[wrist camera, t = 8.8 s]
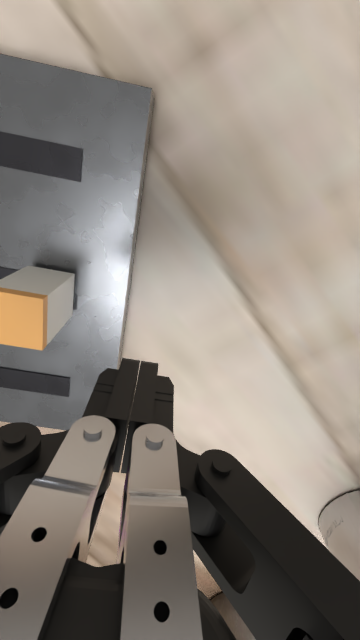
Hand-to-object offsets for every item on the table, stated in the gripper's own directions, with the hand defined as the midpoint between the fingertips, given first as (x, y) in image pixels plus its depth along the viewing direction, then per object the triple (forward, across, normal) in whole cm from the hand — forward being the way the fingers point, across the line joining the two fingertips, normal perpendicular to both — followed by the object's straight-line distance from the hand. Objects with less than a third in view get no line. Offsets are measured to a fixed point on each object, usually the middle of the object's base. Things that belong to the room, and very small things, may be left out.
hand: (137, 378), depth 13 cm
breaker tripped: (+9, +7, 0) cm, 11 cm away
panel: (+12, +12, 0) cm, 17 cm away
